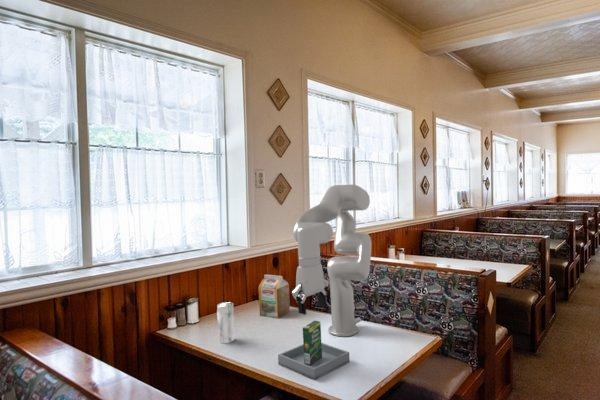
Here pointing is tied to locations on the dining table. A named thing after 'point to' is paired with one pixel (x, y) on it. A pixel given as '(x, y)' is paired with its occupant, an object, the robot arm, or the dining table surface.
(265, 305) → the milk carton
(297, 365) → the grey tray
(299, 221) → the robot arm
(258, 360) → the dining table surface
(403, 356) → the dining table surface
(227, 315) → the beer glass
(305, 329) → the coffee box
